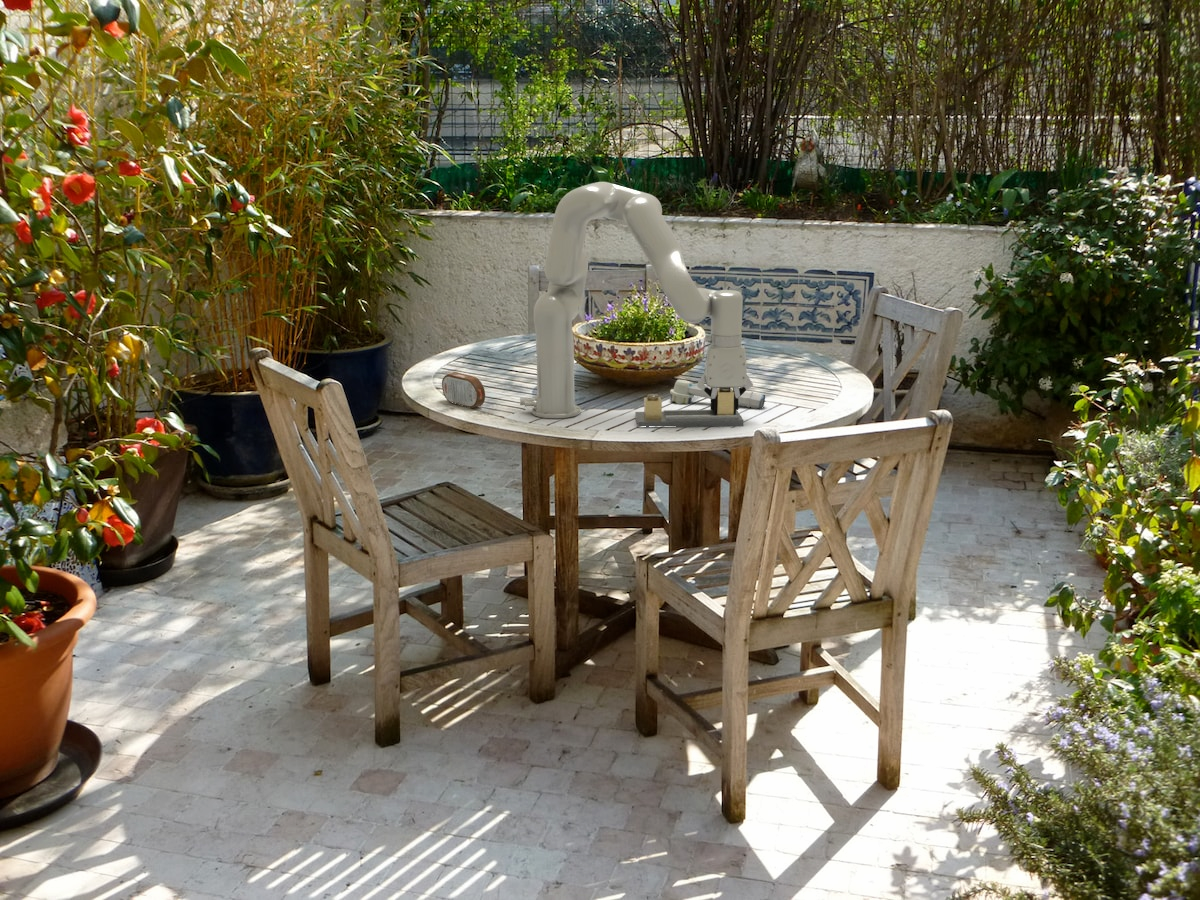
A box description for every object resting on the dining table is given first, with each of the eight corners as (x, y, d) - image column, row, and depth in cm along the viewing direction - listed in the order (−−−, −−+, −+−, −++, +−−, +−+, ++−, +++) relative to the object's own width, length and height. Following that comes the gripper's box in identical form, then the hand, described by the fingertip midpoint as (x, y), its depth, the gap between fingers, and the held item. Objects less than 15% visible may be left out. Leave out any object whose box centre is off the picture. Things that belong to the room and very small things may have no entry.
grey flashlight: (762, 396, 305) (670, 377, 312) (758, 421, 307) (666, 401, 314) (766, 392, 310) (675, 373, 316) (762, 416, 312) (671, 397, 319)
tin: (486, 409, 309) (485, 377, 307) (477, 411, 307) (476, 379, 305) (449, 399, 319) (448, 369, 317) (440, 402, 317) (439, 371, 315)
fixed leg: (645, 418, 293) (645, 397, 291) (644, 414, 296) (644, 393, 295) (661, 418, 293) (661, 396, 291) (659, 414, 297) (660, 393, 295)
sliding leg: (717, 415, 293) (718, 388, 291) (715, 412, 297) (715, 384, 295) (733, 415, 294) (734, 388, 292) (730, 411, 297) (731, 384, 295)
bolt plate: (638, 427, 290) (638, 418, 289) (635, 417, 300) (635, 408, 299) (743, 426, 291) (743, 417, 291) (736, 415, 301) (737, 407, 300)
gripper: (694, 344, 286) (692, 417, 291) (762, 343, 287) (760, 416, 292) (690, 338, 293) (689, 409, 299) (757, 337, 294) (754, 408, 299)
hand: (724, 412), depth 295 cm, fingers closed on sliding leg, 4 cm apart
